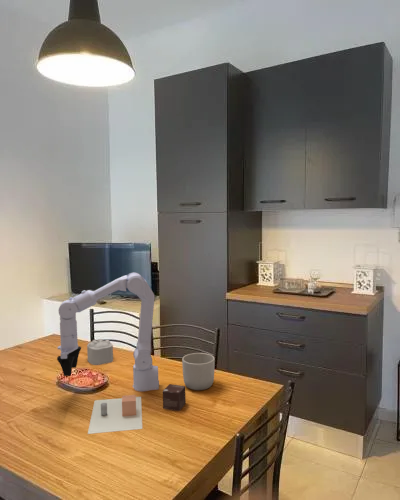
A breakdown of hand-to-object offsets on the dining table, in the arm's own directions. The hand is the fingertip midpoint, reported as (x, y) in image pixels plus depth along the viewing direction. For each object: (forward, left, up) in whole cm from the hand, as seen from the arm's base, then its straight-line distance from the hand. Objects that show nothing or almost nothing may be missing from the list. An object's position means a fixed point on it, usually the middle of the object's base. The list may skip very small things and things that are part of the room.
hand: (70, 371), depth 144 cm
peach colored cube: (-21, +17, -9) cm, 28 cm away
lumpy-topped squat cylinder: (-7, -39, -10) cm, 41 cm away
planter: (-47, -2, -10) cm, 48 cm away
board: (-17, +17, -10) cm, 26 cm away
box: (-36, +15, -10) cm, 40 cm away
